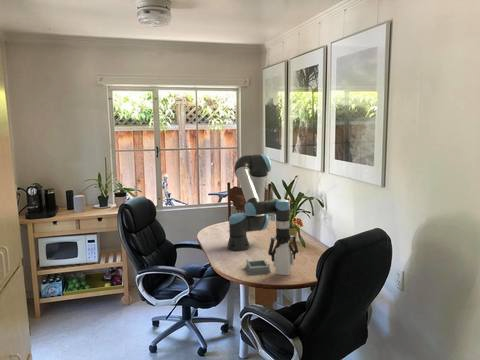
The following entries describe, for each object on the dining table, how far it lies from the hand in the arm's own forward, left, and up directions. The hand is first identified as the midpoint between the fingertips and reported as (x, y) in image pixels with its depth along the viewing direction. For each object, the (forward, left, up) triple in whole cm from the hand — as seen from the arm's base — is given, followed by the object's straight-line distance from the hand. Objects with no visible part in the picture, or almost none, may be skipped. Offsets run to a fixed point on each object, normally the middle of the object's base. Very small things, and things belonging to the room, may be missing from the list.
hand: (283, 265), depth 217 cm
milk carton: (0, 0, -4) cm, 4 cm away
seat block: (-8, -13, -4) cm, 16 cm away
